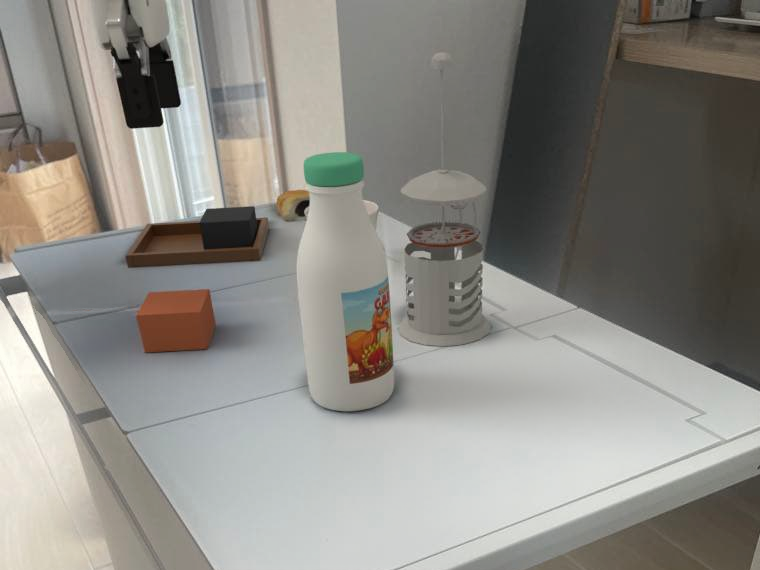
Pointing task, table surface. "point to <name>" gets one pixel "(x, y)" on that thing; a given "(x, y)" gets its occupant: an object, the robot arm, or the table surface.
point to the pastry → (293, 205)
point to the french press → (444, 257)
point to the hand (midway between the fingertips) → (155, 116)
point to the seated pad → (228, 227)
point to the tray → (188, 246)
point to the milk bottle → (343, 290)
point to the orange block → (176, 320)
